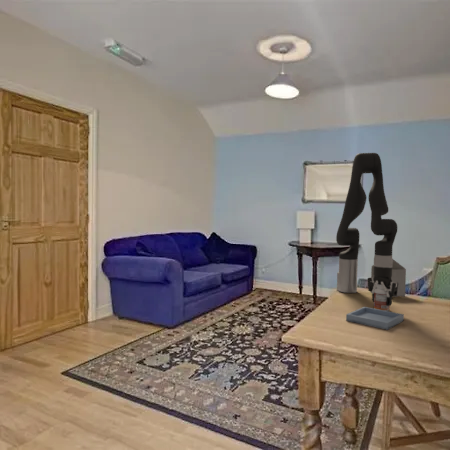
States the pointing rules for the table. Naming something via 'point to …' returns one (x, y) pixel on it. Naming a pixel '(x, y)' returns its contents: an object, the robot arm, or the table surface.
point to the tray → (375, 317)
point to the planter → (397, 277)
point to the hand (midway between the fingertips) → (381, 303)
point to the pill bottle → (380, 298)
